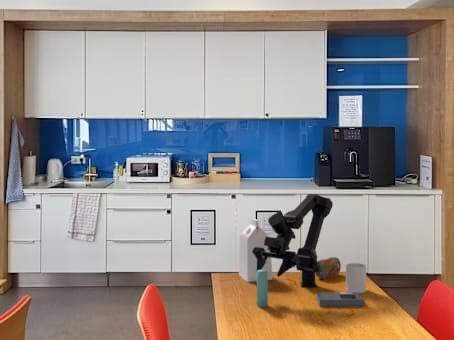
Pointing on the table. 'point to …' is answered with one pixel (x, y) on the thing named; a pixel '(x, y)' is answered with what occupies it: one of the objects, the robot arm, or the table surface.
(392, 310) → the table surface
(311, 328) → the table surface
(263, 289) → the peg
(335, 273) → the tin
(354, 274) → the mug
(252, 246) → the milk
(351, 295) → the flange plate
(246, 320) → the table surface
